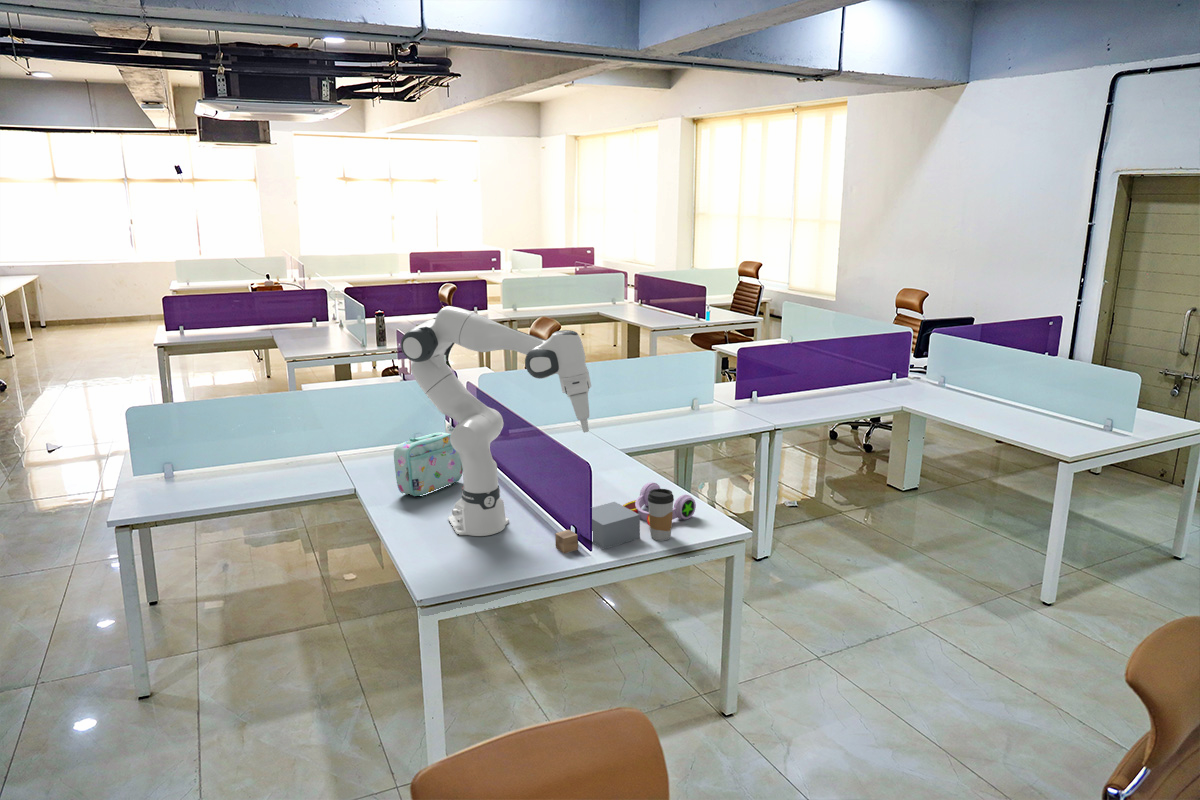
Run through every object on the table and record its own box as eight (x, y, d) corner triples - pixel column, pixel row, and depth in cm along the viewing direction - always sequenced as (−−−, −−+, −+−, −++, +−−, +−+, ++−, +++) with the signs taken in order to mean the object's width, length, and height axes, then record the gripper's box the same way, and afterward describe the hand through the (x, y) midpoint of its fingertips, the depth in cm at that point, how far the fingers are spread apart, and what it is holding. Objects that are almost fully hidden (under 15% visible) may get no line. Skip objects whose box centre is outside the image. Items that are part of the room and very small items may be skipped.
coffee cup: (657, 529, 266) (657, 486, 262) (678, 535, 260) (679, 491, 257) (642, 537, 260) (642, 493, 256) (663, 544, 254) (663, 499, 251)
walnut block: (555, 548, 253) (555, 533, 252) (569, 544, 256) (569, 529, 255) (564, 553, 249) (563, 538, 248) (577, 549, 252) (577, 534, 251)
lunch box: (411, 503, 292) (407, 446, 287) (393, 497, 298) (388, 441, 293) (466, 482, 313) (463, 428, 308) (447, 477, 319) (444, 424, 314)
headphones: (697, 494, 274) (655, 502, 261) (695, 522, 276) (652, 531, 263) (657, 480, 289) (615, 486, 276) (654, 506, 291) (612, 514, 278)
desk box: (579, 534, 263) (578, 511, 261) (614, 524, 270) (614, 501, 269) (603, 549, 252) (603, 525, 250) (639, 538, 259) (639, 514, 257)
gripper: (564, 381, 252) (573, 424, 254) (566, 391, 232) (576, 437, 234) (584, 377, 252) (593, 420, 254) (588, 386, 232) (597, 433, 234)
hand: (585, 428), depth 244 cm, fingers open, 8 cm apart
